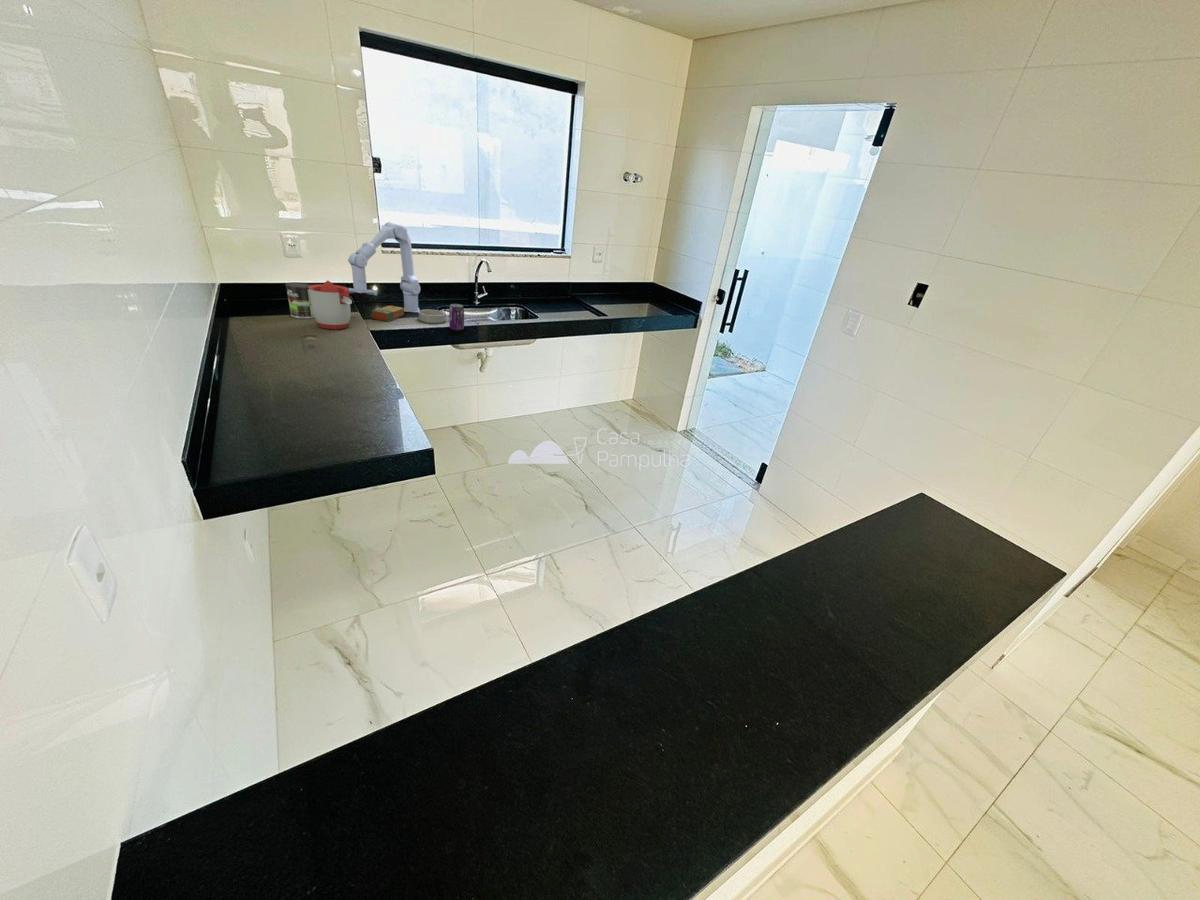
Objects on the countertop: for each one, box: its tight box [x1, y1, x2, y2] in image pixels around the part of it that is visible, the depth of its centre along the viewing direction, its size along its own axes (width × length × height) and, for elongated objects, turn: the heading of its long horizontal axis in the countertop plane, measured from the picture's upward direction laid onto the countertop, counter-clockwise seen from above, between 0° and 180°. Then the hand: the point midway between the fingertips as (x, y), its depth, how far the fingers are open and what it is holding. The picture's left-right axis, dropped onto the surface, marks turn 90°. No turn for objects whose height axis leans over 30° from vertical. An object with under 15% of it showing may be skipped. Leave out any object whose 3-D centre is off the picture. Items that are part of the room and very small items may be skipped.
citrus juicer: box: [308, 280, 353, 331], centre depth 205 cm, size 16×17×20 cm
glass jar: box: [285, 282, 315, 319], centre depth 214 cm, size 10×10×14 cm
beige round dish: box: [417, 309, 446, 324], centre depth 241 cm, size 13×13×4 cm
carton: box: [371, 305, 405, 322], centre depth 235 cm, size 8×16×4 cm, turn 171°
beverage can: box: [448, 303, 465, 332], centre depth 231 cm, size 7×7×12 cm
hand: (362, 308), depth 230 cm, fingers closed
